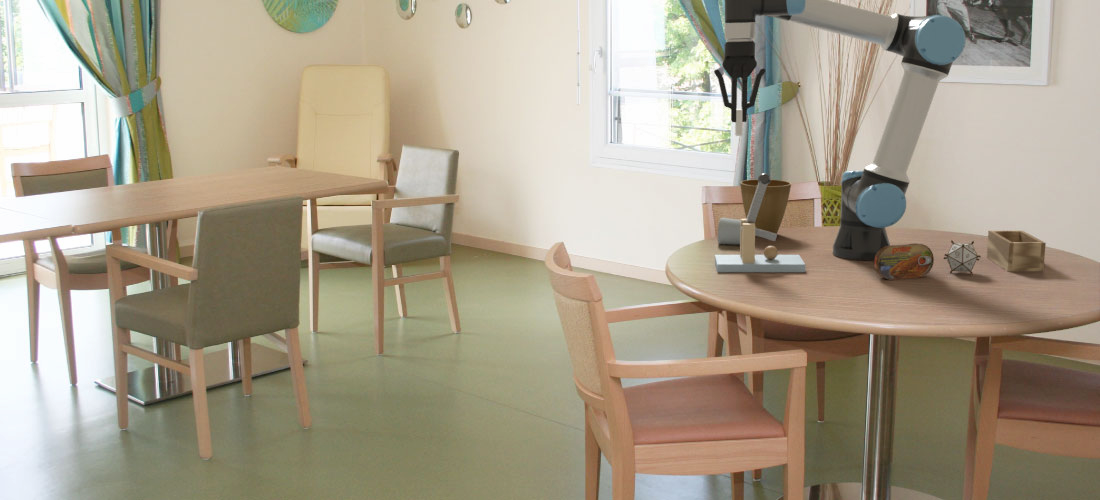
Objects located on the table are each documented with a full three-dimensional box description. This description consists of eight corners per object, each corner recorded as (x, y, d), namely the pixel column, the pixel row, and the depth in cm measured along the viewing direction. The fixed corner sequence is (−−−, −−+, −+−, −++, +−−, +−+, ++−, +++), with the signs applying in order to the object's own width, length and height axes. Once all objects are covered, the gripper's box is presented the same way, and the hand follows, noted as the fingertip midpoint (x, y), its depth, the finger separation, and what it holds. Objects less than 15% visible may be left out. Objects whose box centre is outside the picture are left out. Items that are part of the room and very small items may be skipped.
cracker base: (798, 262, 272) (799, 217, 270) (805, 272, 261) (806, 225, 258) (714, 262, 275) (715, 217, 272) (717, 272, 263) (717, 225, 261)
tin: (878, 281, 250) (879, 247, 248) (871, 278, 253) (872, 244, 251) (933, 276, 253) (935, 243, 251) (926, 274, 256) (928, 241, 254)
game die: (964, 286, 258) (988, 253, 258) (967, 281, 250) (991, 247, 250) (933, 266, 261) (956, 234, 261) (934, 261, 253) (958, 227, 253)
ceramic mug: (745, 247, 293) (746, 220, 292) (716, 246, 295) (717, 219, 294) (750, 241, 303) (750, 215, 302) (722, 239, 305) (722, 214, 304)
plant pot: (739, 239, 305) (740, 185, 301) (739, 230, 319) (740, 178, 316) (791, 239, 302) (792, 185, 299) (788, 230, 316) (789, 178, 313)
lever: (773, 241, 268) (793, 180, 264) (774, 244, 264) (795, 182, 261) (739, 231, 268) (759, 170, 264) (740, 234, 265) (760, 172, 261)
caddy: (1020, 257, 272) (1022, 230, 271) (1043, 271, 256) (1045, 242, 254) (986, 257, 273) (988, 230, 272) (1007, 271, 257) (1009, 243, 255)
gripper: (764, 39, 260) (763, 133, 265) (712, 41, 262) (711, 134, 266) (768, 40, 253) (766, 136, 258) (714, 41, 254) (713, 137, 259)
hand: (738, 135), depth 262 cm, fingers closed
